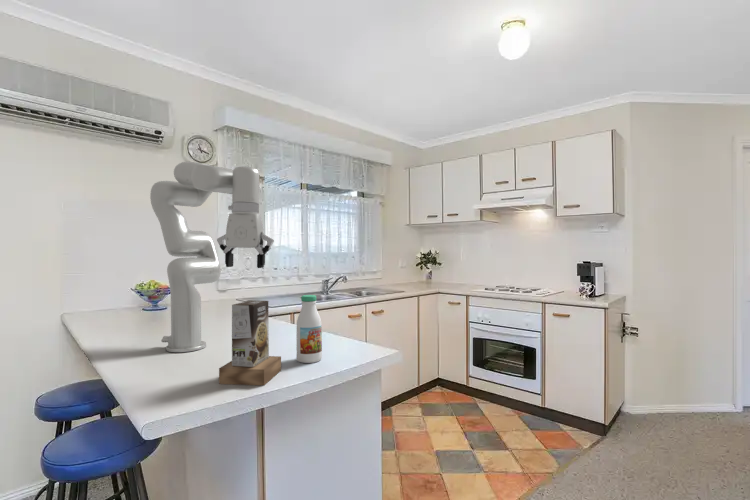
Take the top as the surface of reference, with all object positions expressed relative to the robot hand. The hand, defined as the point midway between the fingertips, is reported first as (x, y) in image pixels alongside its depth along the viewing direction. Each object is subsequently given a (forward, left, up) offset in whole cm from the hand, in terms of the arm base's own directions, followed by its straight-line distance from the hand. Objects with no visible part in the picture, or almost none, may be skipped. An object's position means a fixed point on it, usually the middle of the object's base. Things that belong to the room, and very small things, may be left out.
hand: (244, 267), depth 115 cm
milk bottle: (+17, +7, -29) cm, 35 cm away
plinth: (+6, -10, -29) cm, 31 cm away
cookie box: (+6, -10, -25) cm, 28 cm away
